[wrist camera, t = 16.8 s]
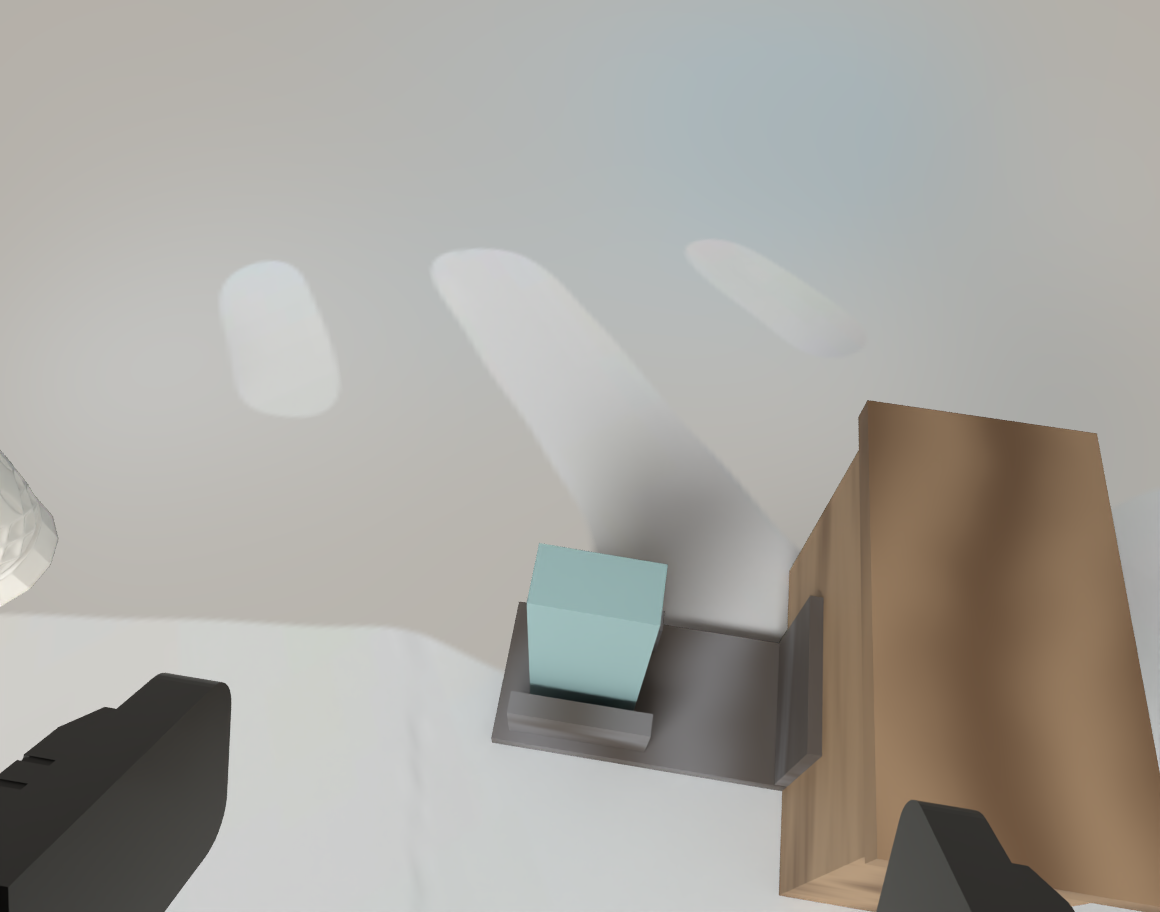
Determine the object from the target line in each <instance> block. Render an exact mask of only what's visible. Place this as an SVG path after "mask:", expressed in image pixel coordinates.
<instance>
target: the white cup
mask: <svg viewBox="0 0 1160 912" xmlns="http://www.w3.org/2000/svg"><path fill="white" fill-rule="evenodd" d="M57 542H58V535H57V531H56V528H55V524H54V519H53V516H52V515H51V513H50V512H49V511H48V510H47V509H46V508H45V507H44V506H43V504H42V503H41V502H40V501H39V500H38V499H37V498H36V497H35V495H34V494H33V492H32V491H31V489H30V487H29V486H28V484H27V482H26V481H25V480H24V479H23V477H22V476H21V475H20V474H19V473H18V471H17V470H16V469H15V468H14V466H13V465H12V463H11V462H10V461H9V460H8V458H7V457H6V456H5V455H4V454H3V453H2V451H1V450H0V606H2V605H4V604H6V603H8V602H9V601H11V600H13V599H14V598H16V597H18V596H19V595H21V594H23V593H24V592H26V591H28V590H29V589H31V588H32V586H33V585H34V584H35V583H36V582H37V580H38V579H39V578H40V577H41V576H42V575H43V573H44V572H45V571H46V570H47V569H48V567H49V566H50V565H51V562H52V558H53V555H54V552H55V549H56V545H57Z"/></svg>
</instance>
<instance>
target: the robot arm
mask: <svg viewBox="0 0 1160 912" xmlns="http://www.w3.org/2000/svg"><path fill="white" fill-rule="evenodd" d="M230 720H231V693H230V690H229V687H228V686H227V685H226V684H225V683H223V682H217V681H211V680H205V679H199V678H193V677H187V676H181V675H175V674H169V673H161V674H158V675H157V676H155V677H154V678H153V679H151V680H150V681H149V682H148V683H147V684H145V685H144V686H143V687H142V688H141V689H140V690H138V691H137V692H136V693H135V694H134V695H132V696H131V697H130V698H129V699H128V700H127V701H125V702H124V703H123V704H122V705H121V706H119V707H118V708H117V709H114V708H108V707H104V708H101V709H99V710H97V711H95V712H92V713H90V714H88V715H85V716H83V717H81V718H79V719H76V720H74V721H72V722H69V723H67V724H65V725H63V726H60V727H58V728H57V729H56V730H54V731H53V732H52V733H51V734H49V735H48V736H47V737H46V738H44V739H43V740H42V741H41V742H39V743H38V744H37V745H35V746H34V747H33V748H32V749H30V750H29V751H28V752H27V753H25V754H24V757H23V759H22V761H19V760H17V761H15V762H14V763H13V764H12V765H10V766H9V767H8V768H6V769H5V770H4V771H3V772H1V773H0V912H165V910H166V909H167V908H168V906H169V905H170V903H171V902H172V901H173V899H174V898H175V897H176V895H177V894H178V893H179V891H180V890H181V889H182V887H183V886H184V885H185V883H186V882H187V881H188V879H189V878H190V877H191V875H192V874H193V873H194V871H195V870H196V869H197V867H198V866H199V865H200V863H201V862H202V861H203V859H204V858H205V857H206V855H207V854H208V852H209V850H210V849H211V847H212V845H213V843H214V841H215V839H216V836H217V834H218V832H219V829H220V826H221V823H222V819H223V816H224V812H225V807H226V800H227V784H228V763H229V741H230ZM876 912H1075V911H1074V910H1073V908H1072V907H1071V905H1070V904H1069V902H1068V901H1066V900H1065V899H1064V898H1063V897H1062V896H1061V895H1060V894H1059V893H1058V892H1057V891H1055V890H1054V889H1053V888H1052V887H1051V886H1050V885H1049V884H1048V883H1047V882H1046V881H1044V880H1043V879H1042V878H1041V877H1040V876H1039V875H1038V874H1037V873H1036V872H1035V871H1033V870H1032V869H1031V868H1030V867H1029V866H1026V865H1020V864H1015V863H1012V862H1011V861H1010V859H1009V857H1008V855H1007V854H1006V852H1005V850H1004V849H1003V847H1002V845H1001V844H1000V842H999V840H998V838H997V837H996V835H995V833H994V832H993V830H992V828H991V826H990V825H989V823H988V821H987V820H986V818H985V817H984V815H983V814H982V813H981V812H979V811H977V810H972V809H966V808H960V807H954V806H948V805H942V804H936V803H930V802H924V801H918V800H910V801H908V802H907V803H906V804H905V806H904V808H903V810H902V812H901V815H900V819H899V823H898V827H897V831H896V835H895V839H894V843H893V847H892V851H891V855H890V859H889V863H888V867H887V871H886V875H885V879H884V883H883V887H882V891H881V895H880V899H879V903H878V907H877V911H876Z"/></svg>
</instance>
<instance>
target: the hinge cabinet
mask: <svg viewBox="0 0 1160 912" xmlns="http://www.w3.org/2000/svg"><path fill="white" fill-rule="evenodd" d="M664 612H665V611H662V615H661V623H660V628H659V631H658V634H657V637H656V641H655V644H654V647H653V650H652V653H651V657H650V660H649V663H648V666H647V669H646V673H645V676H644V679H643V682H642V685H641V689H640V692H639V695H638V698H637V701H636V705H635V708H634V711H630V710H624V709H618V708H612V707H606V706H600V705H594V704H588V703H582V702H576V701H570V700H564V699H558V698H552V697H546V696H539V695H533V694H530V674H529V649H528V624H527V603H525V602H519V605H518V610H517V615H516V620H515V625H514V630H513V635H512V639H511V645H510V649H509V654H508V659H507V664H506V669H505V674H504V679H503V684H502V688H501V693H500V698H499V703H498V708H497V713H496V718H495V723H494V728H493V732H492V737H491V739H492V742H493V743H499V744H505V745H511V746H517V747H523V748H529V749H535V750H541V751H547V752H553V753H559V754H565V755H571V756H577V757H583V758H589V759H595V760H601V761H607V762H613V763H618V764H624V765H630V766H636V767H642V768H648V769H654V770H660V771H666V772H672V773H678V774H684V775H690V776H696V777H702V778H708V779H714V780H720V781H726V782H732V783H737V784H743V785H749V786H755V787H761V788H767V789H773V790H779V791H782V818H781V849H780V881H779V895H780V896H786V897H792V898H798V899H803V900H809V901H815V902H821V903H826V904H832V905H838V906H844V907H849V908H855V909H861V910H867V911H872V912H876V911H877V907H878V903H879V899H880V895H881V891H882V887H883V883H884V879H885V875H886V871H887V867H888V863H889V859H890V855H891V851H892V847H893V843H894V839H895V835H896V831H897V827H898V823H899V819H900V815H901V812H902V810H903V808H904V806H905V804H906V803H907V802H908V801H910V800H918V801H924V802H930V803H936V804H942V805H948V806H954V807H960V808H966V809H972V810H977V811H979V812H981V813H982V814H983V815H984V817H985V818H986V820H987V821H988V823H989V825H990V826H991V828H992V830H993V832H994V833H995V835H996V837H997V838H998V840H999V842H1000V844H1001V845H1002V847H1003V849H1004V850H1005V852H1006V854H1007V855H1008V857H1009V859H1010V861H1011V862H1012V863H1015V864H1020V865H1026V866H1029V867H1030V868H1031V869H1032V870H1033V871H1035V872H1036V873H1037V874H1038V875H1039V876H1040V877H1041V878H1042V879H1043V880H1044V881H1046V882H1047V883H1048V884H1049V885H1050V886H1051V887H1052V888H1053V889H1054V890H1055V891H1057V892H1058V893H1059V894H1060V895H1061V896H1062V897H1063V898H1064V899H1065V900H1066V901H1068V902H1069V904H1070V905H1071V906H1077V905H1082V904H1088V903H1096V904H1101V905H1107V906H1113V907H1119V908H1125V909H1131V910H1136V911H1142V912H1160V772H1159V767H1158V761H1157V756H1156V750H1155V745H1154V740H1153V734H1152V729H1151V723H1150V718H1149V713H1148V707H1147V702H1146V696H1145V691H1144V686H1143V680H1142V675H1141V669H1140V664H1139V659H1138V653H1137V648H1136V642H1135V637H1134V632H1133V626H1132V621H1131V615H1130V610H1129V605H1128V599H1127V594H1126V588H1125V583H1124V578H1123V572H1122V567H1121V561H1120V556H1119V551H1118V545H1117V540H1116V534H1115V529H1114V524H1113V518H1112V513H1111V507H1110V503H1109V497H1108V491H1107V486H1106V481H1105V475H1104V470H1103V465H1102V459H1101V454H1100V448H1099V443H1098V437H1097V434H1096V433H1089V432H1083V431H1076V430H1069V429H1061V428H1055V427H1048V426H1041V425H1034V424H1027V423H1021V422H1014V421H1007V420H1000V419H993V418H986V417H979V416H972V415H966V414H958V413H952V412H944V411H937V410H931V409H924V408H917V407H910V406H903V405H897V404H890V403H883V402H876V401H869V400H868V401H867V402H866V404H865V406H864V408H863V410H862V412H861V414H860V415H859V451H858V452H857V454H856V456H855V458H854V459H853V461H852V463H851V465H850V466H849V468H848V470H847V472H846V473H845V475H844V477H843V479H842V480H841V482H840V484H839V486H838V487H837V489H836V491H835V493H834V494H833V496H832V498H831V499H830V501H829V503H828V505H827V506H826V508H825V510H824V512H823V513H822V515H821V517H820V519H819V520H818V522H817V524H816V526H815V528H814V529H813V531H812V533H811V534H810V536H809V538H808V540H807V541H806V543H805V545H804V547H803V548H802V550H801V552H800V554H799V555H798V557H797V559H796V561H795V562H794V564H793V566H792V568H791V569H790V571H789V600H788V630H787V631H786V633H785V634H784V636H783V637H782V639H781V640H780V643H775V642H769V641H763V640H756V639H750V638H744V637H738V636H731V635H725V634H719V633H712V632H706V631H700V630H694V629H687V628H681V627H675V626H669V625H663V621H664Z"/></svg>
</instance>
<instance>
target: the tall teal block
mask: <svg viewBox="0 0 1160 912" xmlns="http://www.w3.org/2000/svg"><path fill="white" fill-rule="evenodd" d="M667 567H668V565H667V564H661V563H655V562H649V561H643V560H637V559H631V558H625V557H619V556H613V555H607V554H601V553H595V552H589V551H583V550H577V549H571V548H565V547H559V546H553V545H547V544H540V543H539V547H538V552H537V557H536V561H535V566H534V571H533V576H532V581H531V585H530V590H529V595H528V600H527V624H528V649H529V674H530V694H533V695H539V696H546V697H552V698H558V699H564V700H570V701H576V702H582V703H588V704H594V705H600V706H606V707H612V708H618V709H624V710H630V711H634V708H635V705H636V701H637V698H638V695H639V692H640V689H641V685H642V682H643V679H644V676H645V673H646V669H647V666H648V663H649V660H650V657H651V653H652V650H653V647H654V644H655V641H656V637H657V634H658V631H659V628H660V623H661V615H662V607H663V599H664V591H665V583H666V575H667Z"/></svg>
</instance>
